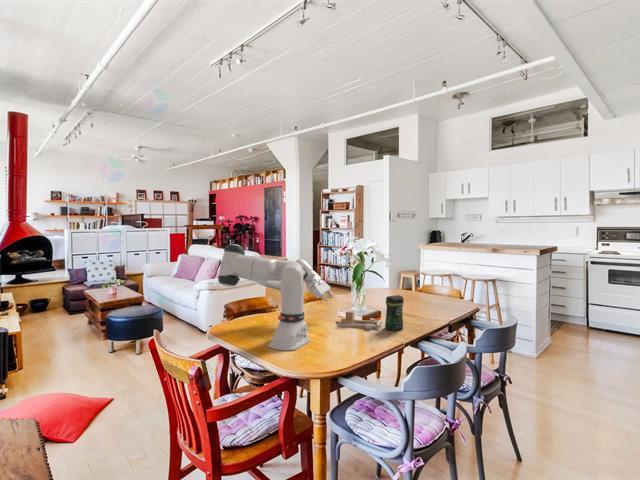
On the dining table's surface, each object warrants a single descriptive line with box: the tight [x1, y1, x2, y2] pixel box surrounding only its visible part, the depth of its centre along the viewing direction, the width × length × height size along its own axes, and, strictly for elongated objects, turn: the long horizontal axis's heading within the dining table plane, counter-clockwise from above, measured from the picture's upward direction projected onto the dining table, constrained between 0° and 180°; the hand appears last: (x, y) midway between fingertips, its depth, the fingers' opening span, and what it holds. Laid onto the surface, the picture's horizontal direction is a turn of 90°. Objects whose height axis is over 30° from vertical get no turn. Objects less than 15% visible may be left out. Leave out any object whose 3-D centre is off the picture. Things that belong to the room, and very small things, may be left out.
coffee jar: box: [384, 294, 405, 332], centre depth 199 cm, size 10×8×19 cm
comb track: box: [337, 317, 383, 331], centre depth 204 cm, size 14×24×3 cm, turn 72°
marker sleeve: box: [345, 309, 355, 323], centre depth 206 cm, size 5×4×8 cm
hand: (330, 299), depth 210 cm, fingers open, 8 cm apart
